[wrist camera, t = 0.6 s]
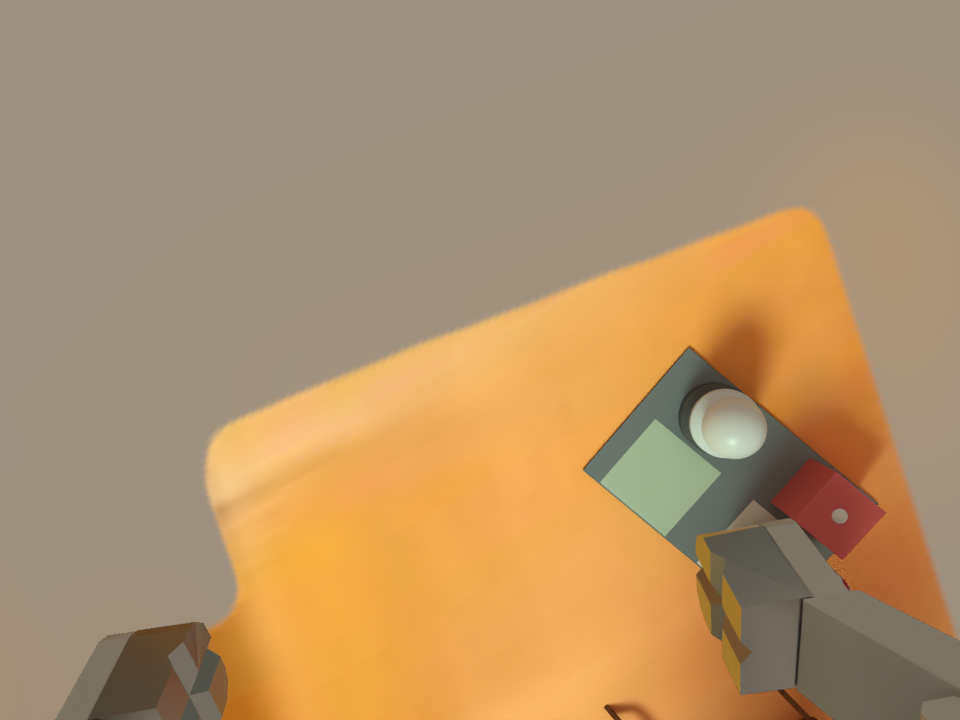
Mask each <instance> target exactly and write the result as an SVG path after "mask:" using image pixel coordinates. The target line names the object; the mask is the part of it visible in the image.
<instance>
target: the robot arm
mask: <svg viewBox="0 0 960 720" xmlns="http://www.w3.org/2000/svg"><path fill="white" fill-rule="evenodd" d="M696 555H697V557H698V560H699V562H700V564H701V566H702V568H701V569H700V571H699V572H698V573H697V575H696V578H697V592H698V596H699V601H700V606H701V610H702V612H703V615H704V618H705V621H706V623H707V625H708V628H709V630H710V632H711V634H712V635H713V636H715V637H717V638H718V639H720V640H721V641H722V650H723V660H724V662H725V664H726V666H727V668H728V670H729V672H730V674H731V677H732V679H733V681H734V683H735V685H736V687H737V689H738V691H739V693H740V695H745V694H753V693H760V692H767V691H774V690H781V689H788V688H796V687H797V691H798V692H800V693H801V694H802V695H803V696H805V697H806V698H807V699H809V700H810V701H811V702H812V703H814V704H815V705H816V706H817V707H819V708H820V709H821V710H822V711H824V712H825V713H826V714H827V715H829V716H830V717H831V718H832V719H834V720H960V641H959V640H957V639H955V638H953V637H951V636H949V635H947V634H945V633H943V632H941V631H939V630H937V629H935V628H933V627H931V626H929V625H927V624H925V623H923V622H921V621H919V620H917V619H915V618H913V617H911V616H909V615H908V614H906V613H904V612H902V611H900V610H898V609H896V608H894V607H892V606H890V605H888V604H886V603H884V602H882V601H880V600H878V599H876V598H874V597H872V596H870V595H868V594H866V593H864V592H862V591H860V590H857V591H849V590H848V589H847V588H846V586H845V585H844V584H843V582H842V581H841V580H840V578H839V577H838V576H837V574H836V573H835V572H834V571H833V569H832V568H831V567H830V565H829V564H828V563H827V561H826V560H825V559H824V557H823V556H822V555H821V554H820V552H819V551H818V550H817V548H816V547H815V546H814V544H813V543H812V542H811V540H810V539H809V538H808V537H807V535H806V534H805V533H804V531H803V530H802V529H801V527H800V526H799V525H798V523H797V522H796V521H794V520H792V519H791V518H787V519H782V520H776V521H771V522H766V523H760V524H759V525H750V526H745V527H739V528H734V529H728V530H723V531H717V532H712V533H706V534H701V535H697V539H696ZM210 638H211V636H210V635H209V633H208V631H207V629H206V627H205V625H204V624H203V623H200V622H191V623H185V624H177V625H171V626H164V627H157V628H150V629H144V630H137V631H136V632H128V633H121V634H113V635H107V636H106V637H105V638H104V639H102V640H101V641H100V642H99V643H98V644H97V646H96V648H95V650H94V652H93V653H92V655H91V657H90V659H89V660H88V662H87V664H86V666H85V667H84V669H83V671H82V673H81V675H80V677H79V678H78V680H77V682H76V684H75V685H74V687H73V689H72V691H71V693H70V695H69V696H68V698H67V700H66V702H65V703H64V705H63V707H62V709H61V711H60V712H59V714H58V716H57V718H56V719H55V720H220V719H221V718H222V716H223V713H224V709H225V706H226V702H227V691H228V678H227V674H226V669H225V666H224V663H223V661H222V659H221V657H220V656H219V655H217V654H215V653H214V652H212V651H210V650H208V649H207V647H208V644H209V641H210Z"/></svg>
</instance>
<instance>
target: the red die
mask: <svg viewBox="0 0 960 720" xmlns="http://www.w3.org/2000/svg"><path fill="white" fill-rule="evenodd" d="M770 502H771V503H772V504H774V505H775V506H776V507H777V508H779V509H780V510H781V511H782V512H783V513H785V514H786V515H787V516H788V517H789V518H791V519H792V520H794V521H796V522H797V523H798V525H799V526H800V527H802V528H803V529H804V530H805V531H806V532H808V533H809V534H810V535H811V536H812V537H814V538H815V539H816V540H817V541H819V542H820V543H821V544H823V545H824V546H825V547H826V548H828V549H829V550H830V551H832V552H833V553H834V554H835V555H837V556H838V557H839V558H841V559H842V560H843V559H844V558H845V557H846V556H847V554H848V553H849V552H850V551H851V550H852V549H853V548H854V547H855V546H856V545H857V544H858V543H859V542H860V540H861V539H862V538H863V537H864V536H865V535H866V534H867V533H868V532H869V531H870V530H871V529H872V528H873V526H874V525H875V524H876V523H877V522H878V521H879V520H880V519H881V518H882V517H883V516H884V515H885V514H886V512H885V511H884V510H882V509H881V508H880V507H879V506H877V505H876V504H875V503H874V502H873V501H871V500H870V499H869V498H868V497H867V496H865V495H864V494H863V493H862V492H861V491H859V490H858V489H857V488H856V487H854V486H853V485H852V484H851V483H850V482H848V481H847V480H846V479H845V478H844V477H842V476H841V475H840V474H839V473H837V472H836V471H834V470H832V469H830V468H828V467H826V466H824V465H822V464H820V463H818V462H816V461H814V460H812V459H810V458H809V460H808V461H807V462H806V463H805V464H804V465H803V466H802V467H801V468H800V469H799V471H798V472H797V473H796V474H795V475H794V476H793V477H792V478H791V479H790V481H789V482H788V483H787V484H786V485H785V486H784V487H783V488H782V489H781V490H780V492H779V493H778V494H777V495H776V496H775V497H774V498H773V499H772V500H771V501H770Z"/></svg>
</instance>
